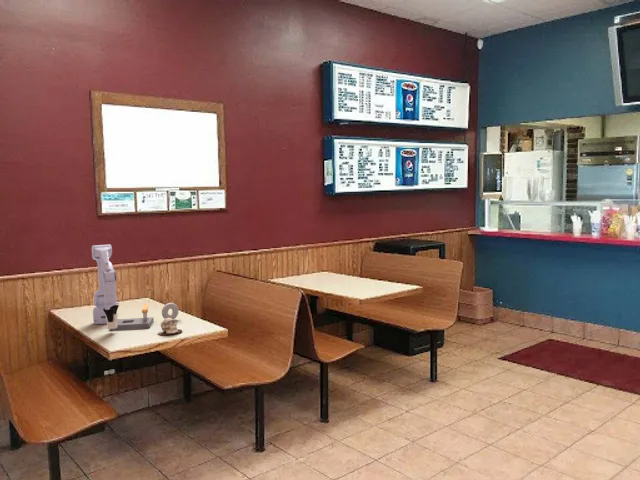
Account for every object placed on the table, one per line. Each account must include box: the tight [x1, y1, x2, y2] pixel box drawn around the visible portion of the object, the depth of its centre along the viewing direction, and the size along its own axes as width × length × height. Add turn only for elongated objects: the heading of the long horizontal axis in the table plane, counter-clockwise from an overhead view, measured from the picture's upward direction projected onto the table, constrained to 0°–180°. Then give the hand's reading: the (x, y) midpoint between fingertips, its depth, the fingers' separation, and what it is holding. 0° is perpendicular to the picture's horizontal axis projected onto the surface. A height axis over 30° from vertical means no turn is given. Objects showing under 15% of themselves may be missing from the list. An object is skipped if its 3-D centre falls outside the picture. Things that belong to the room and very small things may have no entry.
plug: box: [101, 313, 119, 330], centre depth 281 cm, size 8×5×6 cm, turn 97°
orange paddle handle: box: [141, 303, 149, 314], centre depth 302 cm, size 16×3×2 cm, turn 15°
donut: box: [161, 302, 180, 320], centre depth 305 cm, size 10×4×10 cm, turn 135°
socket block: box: [109, 312, 155, 331], centre depth 295 cm, size 20×14×7 cm
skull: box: [157, 318, 183, 336], centre depth 279 cm, size 12×10×10 cm
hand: (112, 320), depth 281 cm, fingers closed on plug, 5 cm apart
